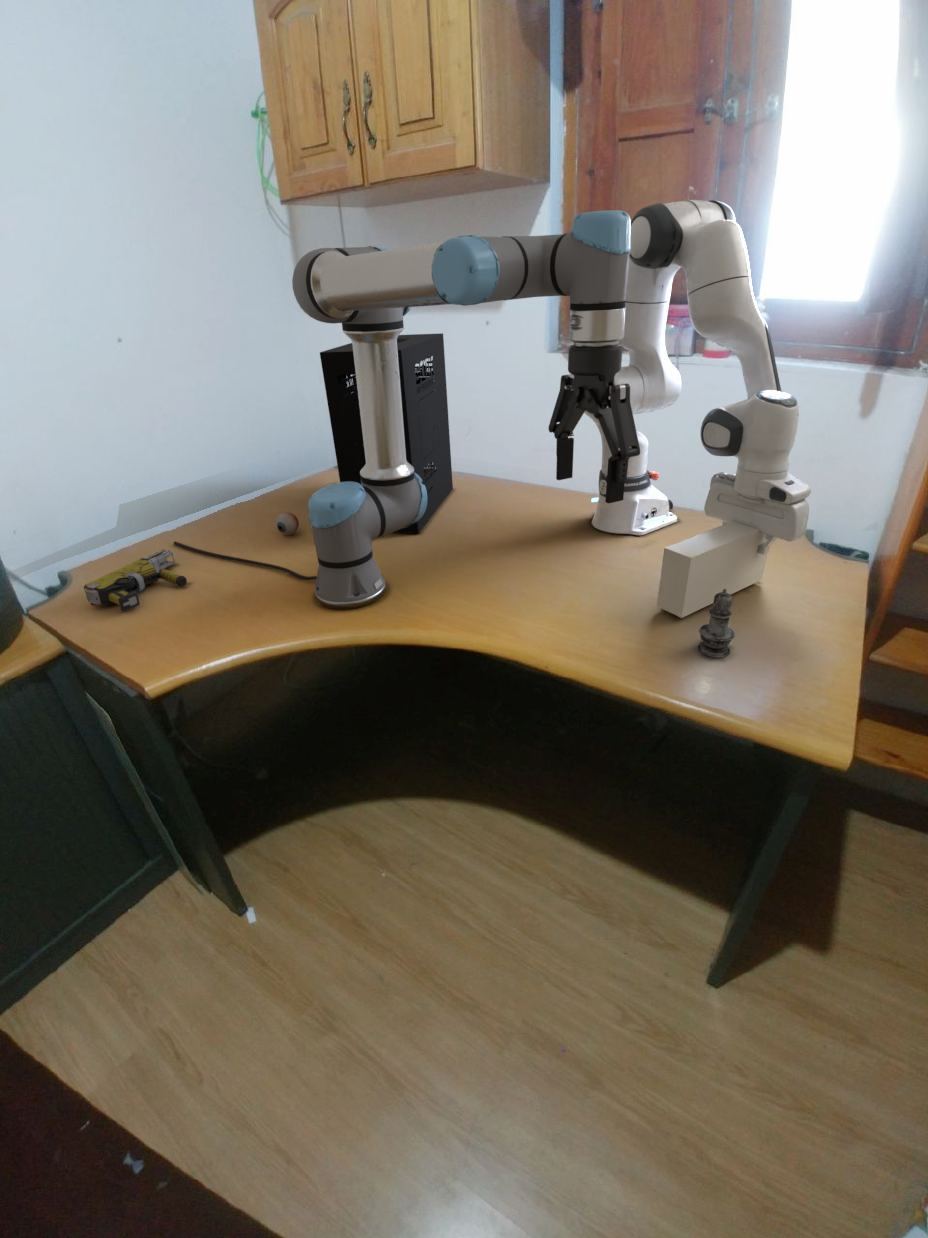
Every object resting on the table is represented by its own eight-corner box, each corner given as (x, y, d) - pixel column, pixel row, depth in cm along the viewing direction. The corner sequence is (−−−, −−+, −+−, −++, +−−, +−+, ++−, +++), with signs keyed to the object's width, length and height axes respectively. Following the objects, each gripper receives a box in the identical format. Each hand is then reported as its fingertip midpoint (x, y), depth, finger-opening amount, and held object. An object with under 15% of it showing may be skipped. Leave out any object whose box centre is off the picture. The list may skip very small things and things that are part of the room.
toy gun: (210, 557, 146) (160, 546, 150) (132, 599, 126) (77, 585, 130) (213, 575, 148) (164, 564, 152) (137, 618, 128) (82, 604, 132)
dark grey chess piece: (734, 659, 103) (747, 597, 97) (698, 657, 104) (708, 596, 98) (728, 641, 108) (740, 581, 102) (694, 639, 109) (704, 580, 103)
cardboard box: (418, 533, 160) (401, 349, 138) (347, 530, 165) (319, 352, 142) (452, 488, 192) (443, 333, 169) (392, 487, 196) (375, 335, 174)
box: (736, 570, 130) (747, 515, 124) (761, 579, 126) (774, 523, 120) (656, 606, 119) (664, 547, 112) (681, 618, 114) (690, 557, 108)
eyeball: (273, 537, 164) (268, 516, 161) (287, 528, 169) (282, 508, 166) (291, 539, 161) (286, 518, 158) (305, 530, 166) (301, 510, 163)
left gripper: (528, 339, 94) (527, 473, 104) (630, 352, 74) (617, 517, 84) (568, 335, 96) (564, 466, 107) (678, 347, 76) (659, 507, 87)
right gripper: (703, 473, 122) (693, 536, 129) (800, 498, 107) (783, 568, 114) (722, 466, 125) (712, 529, 132) (820, 490, 110) (802, 559, 117)
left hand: (587, 489), depth 96 cm, fingers open, 13 cm apart
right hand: (746, 547), depth 123 cm, fingers closed on box, 6 cm apart
